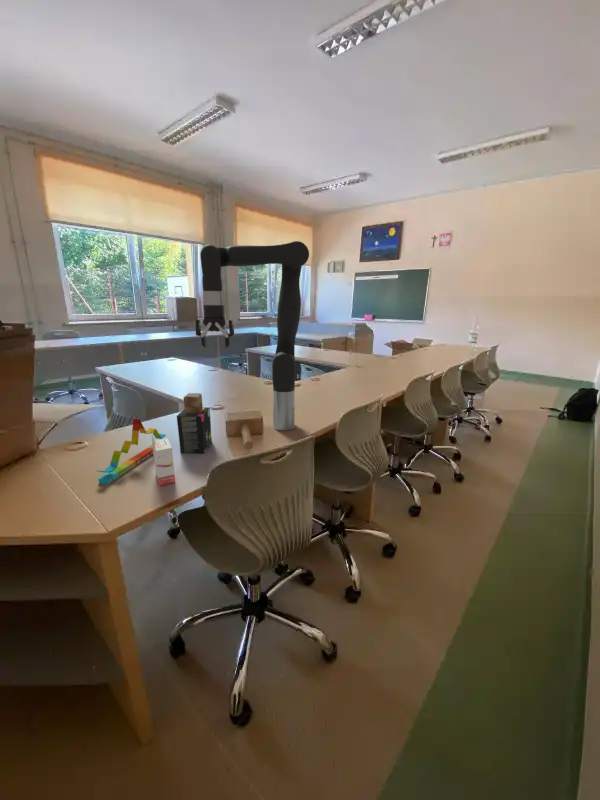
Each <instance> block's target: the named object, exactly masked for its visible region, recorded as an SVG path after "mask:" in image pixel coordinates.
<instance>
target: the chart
mask: <svg viewBox="0 0 600 800" xmlns="http://www.w3.org/2000/svg"><path fill="white" fill-rule="evenodd" d="M152 433H153V435H154V439H157V440H161V439H165V437H166V436H167V435H166V434H165V433H159V431H158V430H157V428H152V427H149V428H148V429H147V430H146V429H145V427H144V424H143V423H142V421H141V419H138V418H133V419H132V429H131V439H130V440H131V441H130V440H124V442H123V443H122V444H123V445H122V447H121V448H120V450H113V453H112V457H111V460H110V463H109V466H107V467H106V468H105V469H101V470H99V469H97V470H96V472H98V473H99V472H100V473H105V474H104V475H102V476H100V477H99V478H97V480H98V484H99V485H100V484H102V485H107V486H108V485H109V484H110V483H112V482H114V481H115V480H117V479H118V478H120V477H121V476H123V475H124V474H126V473H128V472H129V471H130V470H131V469H133V468H135V467H136V466H138V465H139V464H140V463H142V462H144V461H145V460H147V459H148V458H150V457H151V456H153V447H152V444H151V445H150V446H148V447H146V448H145V449H143V450H141V451H140V452H138V453H137V454H136V455H134V456H132V457H131V458H129V459H127V460H126V461H124V462H122V463H121V464H119V462H120V457H121V455H122V453H123V454H128V453H129V451H130V448H131V445H133V446H139V438H140V437H139V436H140V434H147V435H149V434H151V435H152Z"/></svg>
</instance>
